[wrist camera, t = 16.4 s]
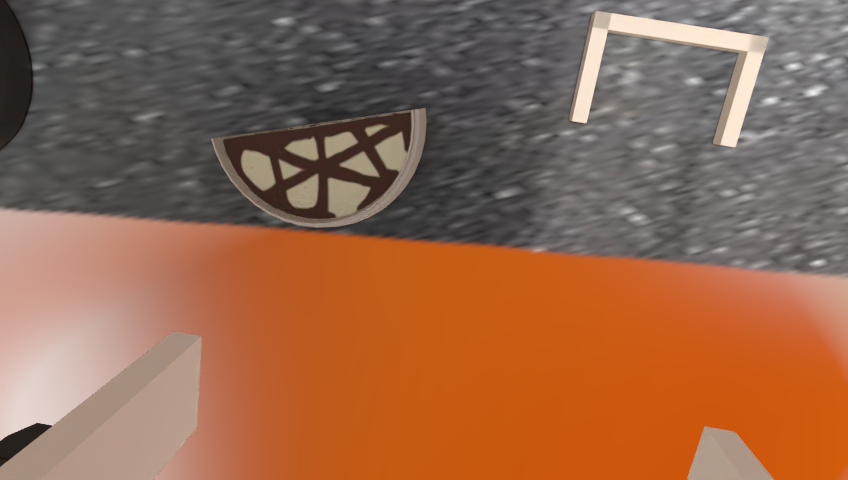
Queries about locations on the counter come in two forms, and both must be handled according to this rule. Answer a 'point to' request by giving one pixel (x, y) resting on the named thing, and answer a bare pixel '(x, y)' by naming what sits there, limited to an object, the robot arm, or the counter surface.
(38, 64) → the counter surface
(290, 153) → the food container
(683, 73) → the counter surface
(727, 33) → the holder
